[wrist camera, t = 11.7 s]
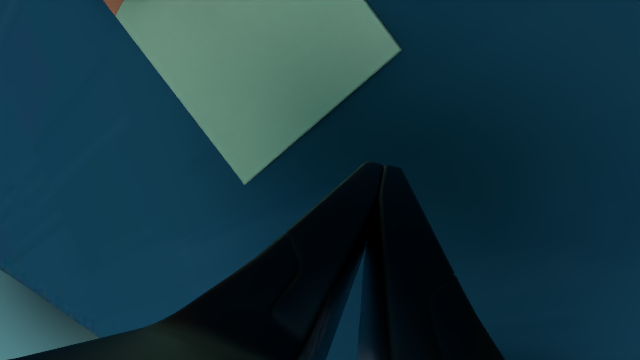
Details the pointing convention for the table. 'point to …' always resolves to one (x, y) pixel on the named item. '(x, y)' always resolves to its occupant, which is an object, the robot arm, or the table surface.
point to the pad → (114, 5)
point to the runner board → (259, 65)
